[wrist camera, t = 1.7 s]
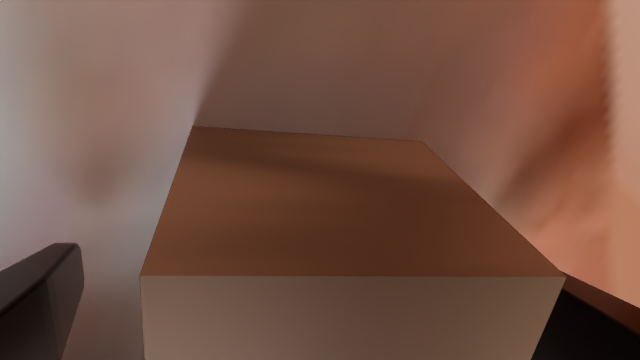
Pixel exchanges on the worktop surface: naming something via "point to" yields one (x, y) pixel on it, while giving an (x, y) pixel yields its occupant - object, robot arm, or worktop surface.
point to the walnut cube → (335, 256)
